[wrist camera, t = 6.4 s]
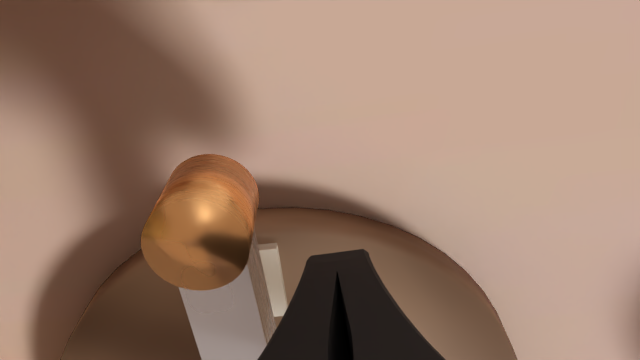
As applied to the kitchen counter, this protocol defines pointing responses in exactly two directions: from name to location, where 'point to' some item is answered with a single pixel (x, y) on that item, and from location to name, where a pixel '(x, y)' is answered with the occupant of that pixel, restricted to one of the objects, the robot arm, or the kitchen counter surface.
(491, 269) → the kitchen counter surface
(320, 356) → the robot arm
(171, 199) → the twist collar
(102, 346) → the base
